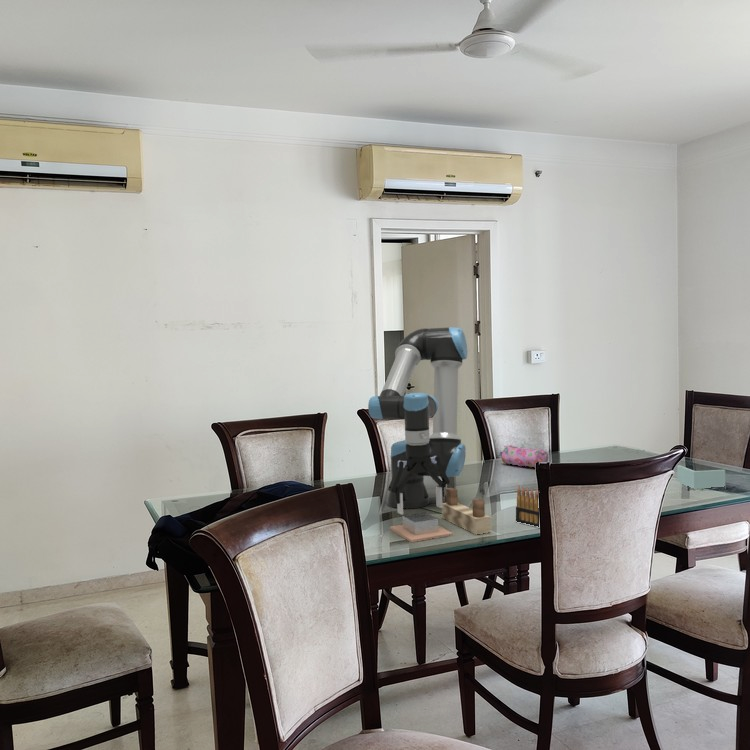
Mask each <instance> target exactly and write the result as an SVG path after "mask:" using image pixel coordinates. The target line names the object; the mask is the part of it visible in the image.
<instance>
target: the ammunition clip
mask: <svg viewBox="0 0 750 750" xmlns="http://www.w3.org/2000/svg"><path fill="white" fill-rule="evenodd" d="M538 498H539V492H538V489H537V488H536V489H535V490H533V488H530V490H529V487H526V490H525V486H522V488H521V487H520V485H518V486H517V491H516V507H515V522H516V521H517V522H521V523H526V524H530V525H534V526H538V527H539V508H538ZM517 522H516V523H517ZM521 523H520V524H521Z"/></svg>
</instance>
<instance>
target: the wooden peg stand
mask: <svg viewBox="0 0 750 750" xmlns="http://www.w3.org/2000/svg"><path fill="white" fill-rule="evenodd" d="M458 499H459V498H458V489H456V488H454V487H445V502H442V505H443V508H441V517H442V518H441V519H442V520H445V519H446V520H445V521H447V522H449V523H451V522H452V524H453V525H455V524H456V526H457V525H458V526H457V527H459V526H460V527H459V528H461V527H462V528H461V529H463V528H464V529H463V530H465V529H466V530H465V531H467V530H468V531H467V532H469V531H470V532H469V533H471V532H472V533H471V534H473V533H474V535H475V534H476V535H475V536H478V535H477V534H480V535H484V534H483V533H486V534H489V533H488V532H490V533H491V516H489V515H488V514H485V499H484V498H473V499H472V501H471V502H472V507H468V506H466V505H465V504H461V503H459V501H458Z"/></svg>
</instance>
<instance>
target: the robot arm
mask: <svg viewBox="0 0 750 750" xmlns="http://www.w3.org/2000/svg"><path fill="white" fill-rule="evenodd" d="M467 345H468V344H467V339H466V336H465V332H464V331H463V329H462V328H460V327H450V326H449V327H436V328H434V327H433V328H432V327H431V328H430V327H429V328H420V329H417V330H414V331H412V332H411V333H409V334H408V335H406V336H405V337H404V338H403V339H402V340H401V341H400V342H399V344H398V345H397V347H396V349H395V352H394V357H395V359H394V362H393V364H392V366H391V368H390V371H389V373H388V376H387V378H386V380H385V383H384V385H383V387H382V390H381V393H380V394H379V395H375V396H371V397H370V398H369V400H368V406H367V409H368V414H369V417H370V418H372V419H376V420H404V440H399V441H396V442H393V443H392V445H391V446H390V456H389V457H390V467H391V468H390V469H391V472H390V473H391V480H390V482H389V484H388V488H387V490H388V491H389V493H388V495H387V505H388V506H389V505H390V506H389V507H391V506H392V507H391V508H394V507H396V508H395V509H397V510H396V511H397V514H399V515H402V516H403V515H404V509H403V508H406V509H405V510H407V509H408V510H409V508H410V509H418V508H423V507H427V506H428V505H429V504H430V496H429V494H428V490H427V487H426V485H425V481H424V480H425V479H424V478H425V477H431V479H432V480H433V481H434V482H435V483H436V484H437V485H435V500H436V501H435V503H436V507H437V508H439V509H442V508H443V505H442V503H443V497H445V488H447V487H446V486H447V485H449V484H450V480H449V478H451V477H459V476H460V475H461V474H462V473H463V469H464V467H465V461H466V445H465V444H463V443H462V439H461V437H460V436H459V435H458V433H457V432H458V394H459V393H458V389H459V388H458V387H459V385H458V384H459V369H460V368H461V367H462V366H463V360H467V358H468V346H467ZM420 361H430V366H432V368H433V369H434V371H433V372H434V375H433V378H434V380H433V395H432V394H427V393H425V392H409V393H406V390H407V388H408V385H409V383H410V379H411V377H412V375H413V371H414V370H415V367H416V366H417V365H418V364H419V363H420ZM405 393H406V394H405ZM431 418H433V419H432V434H431V435H430V420H429V419H431Z"/></svg>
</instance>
